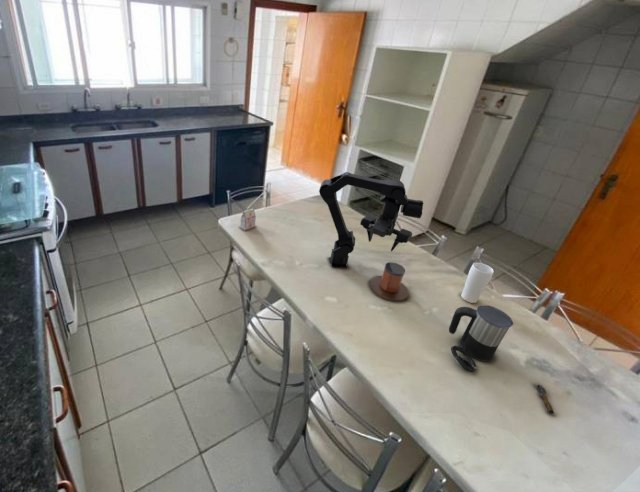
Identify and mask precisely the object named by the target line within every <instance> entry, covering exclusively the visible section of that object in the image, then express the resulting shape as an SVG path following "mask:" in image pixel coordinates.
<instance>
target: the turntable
mask: <svg viewBox="0 0 640 492" xmlns="http://www.w3.org/2000/svg"><path fill="white" fill-rule="evenodd" d="M381 278H382V275H375V276H374V277H372V278H371V279H370V282H369V287H370V289H371V291H372V292H373V294H375V295H376V296H378V297H379V298H381V299H383V300H385V301H389V302H394V303H397V302H398V303H399V302H403V301H405V300H406V299H407V298H408V297H409V290H408V287H406V286H405V285H404V284H403V283H402V282H401V284H400V287H399V290H398V292H395V293H391V292H387V291H385V290H384V289H382V288H381V286H380V281H381Z"/></svg>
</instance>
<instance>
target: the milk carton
mask: <svg viewBox="0 0 640 492" xmlns="http://www.w3.org/2000/svg"><path fill="white" fill-rule="evenodd" d="M256 217H257V216H256V212H255V207H253V208H250V209H247V210H244V211H243V212H242V215H241V216H240V225H239V227H240V229H241V230H243V231H247V230H251V229H253V228H256Z"/></svg>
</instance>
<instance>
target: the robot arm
mask: <svg viewBox="0 0 640 492" xmlns="http://www.w3.org/2000/svg"><path fill="white" fill-rule="evenodd" d="M346 186H351V187H356V188H360V189H365V190H367V191H368V190H369V191H372V192H377V193H380V194H382V196H380V197H379V199H380V202H382V203H384V204H383V207H382V211H381V213H380V215H379V217H378V219H377V218H376V217H374V216H372V215H369V214H368V215H365V216H364V217H362V218H361V220H360V223H359V224H360V226H362V228H363V229H365V230H366V233H367V238H368V239H367V240H368V243H370V242H371V241H372V239H373V236H374V235H376V236H378V237H380V238H384V237H386V236H389V237H391V236H392V234H393V235H396V236H395V238H394V242H393V244H392V246H391V248H390V252H393V251H394V250H395V249H396V247H397V246H398V245H399V244H407V243H408V242H409V241H410V240H411V239H412V237H413V232H412V231H410V230H408V229H406V228H401V229H400V230H399V229H397V228H395V227H396V223H397V219H398V217H399V213H401V214H402V216H404V217H409V218H415V219H421V217H422V215H423V209H424V208H423V207H424V201H423V200H420V199H412V198H408V195H407V194H406V193H407V191H406V187H405V184H404V183H403V181H402V180H398V179H384V180H383V179H377V178H373V177H368V176H364V175H360V174H355V173H351V172H349V171H346V172H345V171H344V172H343V173H342V174H339V175H336V176H333V177H332V178H330V179H329V178H327V179H324V180H322V182H321V183H320V187H319V189H318V192H319V193H318V194H319V195H320V197H321V198H322V200H323V202H324V203H326V206H327V207H328V211H329V213H330V216H331V219H332V222H333V224H334V227H335V230H336V233H337V237H338V238H337V239H336V240H335V241H334V243H333V244H334V245H333V248H331V253H330V256H329V257H328V260H329V263H330V265H331V267H332V268H341V269H343V268H345V269H346V268H348V262H349V257H350V256H349V254H351V253H353V251H354V250H355V249H354V248H355V246H356V237H355V235H354V231H353V230H348V228H347V225H346V222H345V219H344V216H343V213H342V210H341V207H340V203H339V202H338V197H337V193H338V192H339V191H340V190H342V189H343V188H345V187H346Z"/></svg>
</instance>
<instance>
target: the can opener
mask: <svg viewBox="0 0 640 492" xmlns="http://www.w3.org/2000/svg"><path fill="white" fill-rule="evenodd" d="M536 388H537V389H536V390H537V391H538V392H539V393H540V395H541V398H542V400H543V402H544V404H545V407H546V409H547V411H548V413H549V414H554V413H555V412H554V408H553V407H552V405H551V403H550V401H549V399H548V397H547V391H546V389H545V388H544V386H543V385H541V384H537V385H536Z"/></svg>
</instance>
